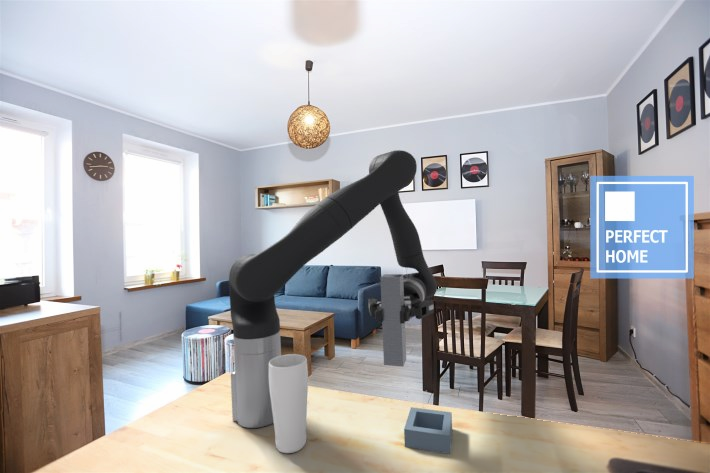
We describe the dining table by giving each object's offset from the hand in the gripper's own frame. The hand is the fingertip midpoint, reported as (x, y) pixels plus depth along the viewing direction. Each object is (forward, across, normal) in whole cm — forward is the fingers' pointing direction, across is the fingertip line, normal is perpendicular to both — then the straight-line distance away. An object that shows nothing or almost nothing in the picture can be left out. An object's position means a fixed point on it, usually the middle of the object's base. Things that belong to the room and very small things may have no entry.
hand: (390, 317), depth 60 cm
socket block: (-2, +6, +22) cm, 23 cm away
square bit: (-3, 0, +9) cm, 9 cm away
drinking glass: (+6, -17, +22) cm, 29 cm away
